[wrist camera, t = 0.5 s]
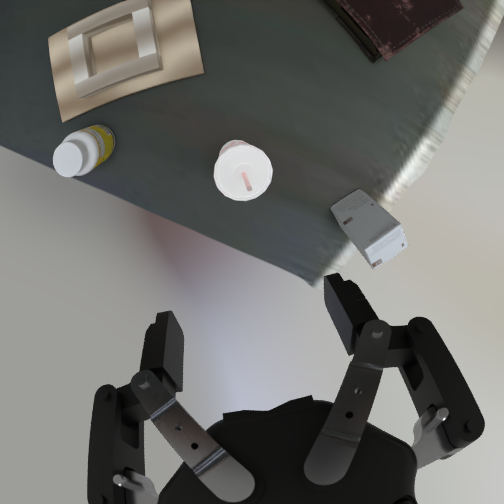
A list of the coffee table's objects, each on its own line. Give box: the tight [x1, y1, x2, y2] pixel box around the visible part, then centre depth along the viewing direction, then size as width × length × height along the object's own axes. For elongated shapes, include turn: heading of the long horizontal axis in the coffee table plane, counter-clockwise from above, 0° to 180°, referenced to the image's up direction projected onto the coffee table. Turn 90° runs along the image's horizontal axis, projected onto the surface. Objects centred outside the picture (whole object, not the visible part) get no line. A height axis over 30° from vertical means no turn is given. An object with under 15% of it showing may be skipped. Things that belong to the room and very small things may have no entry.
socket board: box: [48, 0, 204, 122], centre depth 23 cm, size 14×20×4 cm
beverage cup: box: [214, 140, 273, 201], centre depth 29 cm, size 6×6×14 cm
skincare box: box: [330, 189, 408, 269], centre depth 37 cm, size 6×4×12 cm
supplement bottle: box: [53, 125, 115, 177], centre depth 27 cm, size 5×5×10 cm
